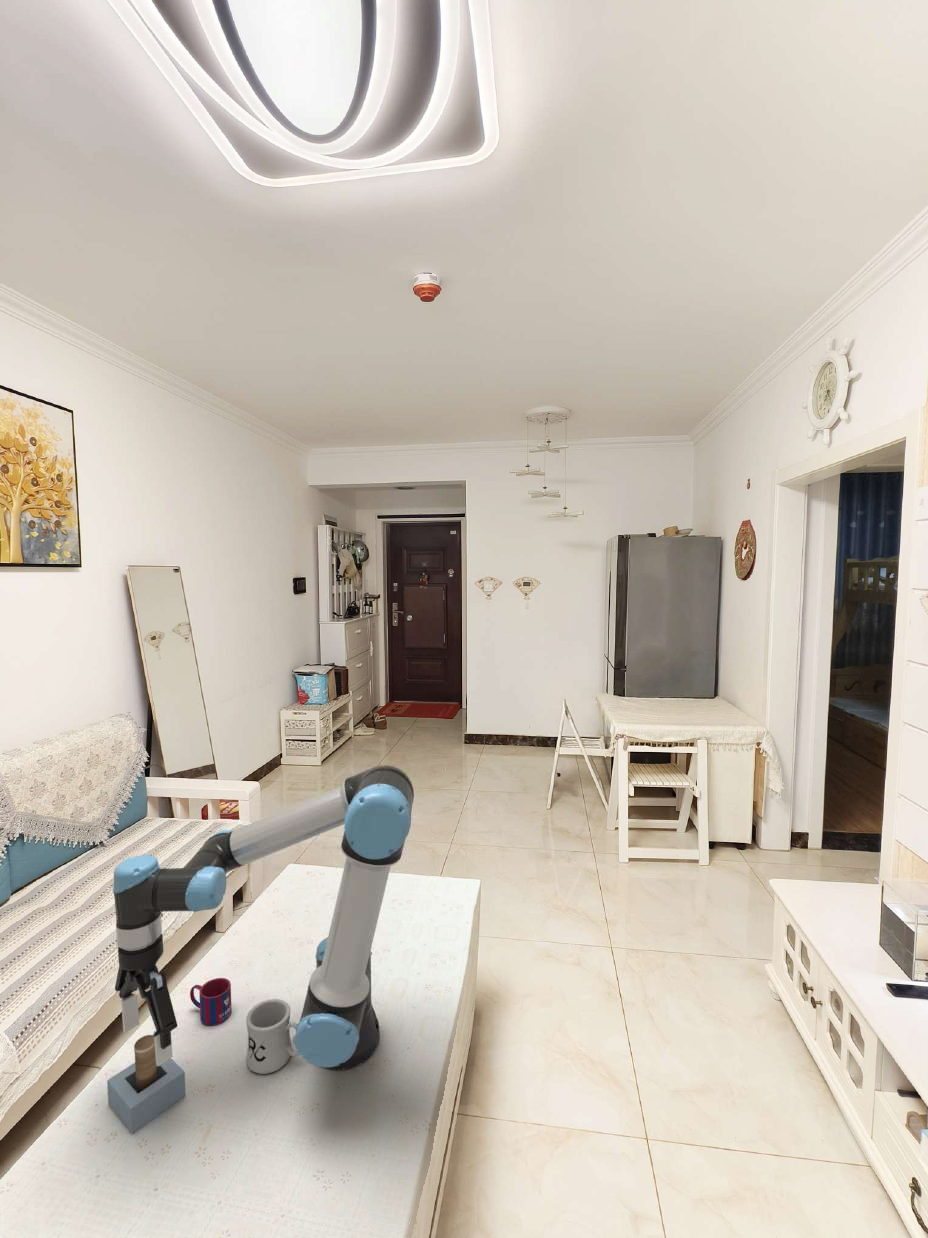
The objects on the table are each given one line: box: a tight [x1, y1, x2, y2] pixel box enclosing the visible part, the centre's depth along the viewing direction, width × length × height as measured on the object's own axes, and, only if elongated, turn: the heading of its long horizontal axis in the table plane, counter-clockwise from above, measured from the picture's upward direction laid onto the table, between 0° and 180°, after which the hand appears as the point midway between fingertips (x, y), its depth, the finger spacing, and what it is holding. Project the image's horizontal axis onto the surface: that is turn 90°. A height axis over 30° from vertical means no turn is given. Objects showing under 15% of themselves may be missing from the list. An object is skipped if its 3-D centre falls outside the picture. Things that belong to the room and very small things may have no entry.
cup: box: [189, 977, 232, 1027], centre depth 136 cm, size 7×10×7 cm
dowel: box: [133, 1034, 157, 1094], centre depth 113 cm, size 4×4×12 cm
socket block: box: [106, 1058, 186, 1135], centre depth 113 cm, size 10×10×5 cm
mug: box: [245, 998, 301, 1075], centre depth 123 cm, size 12×9×10 cm
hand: (147, 1044), depth 113 cm, fingers open, 13 cm apart
